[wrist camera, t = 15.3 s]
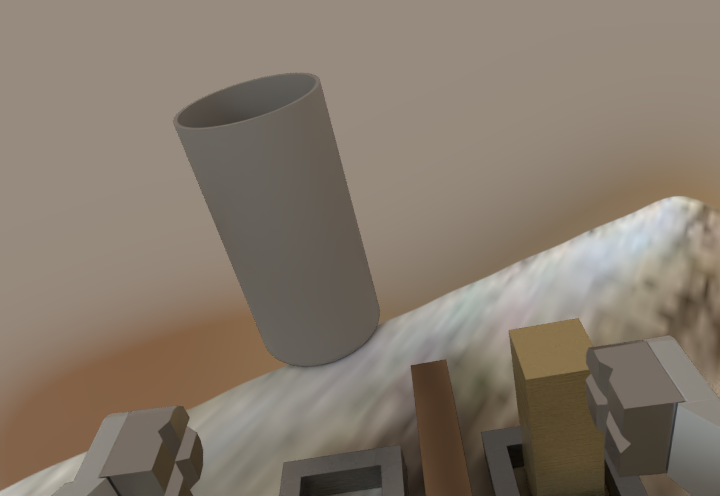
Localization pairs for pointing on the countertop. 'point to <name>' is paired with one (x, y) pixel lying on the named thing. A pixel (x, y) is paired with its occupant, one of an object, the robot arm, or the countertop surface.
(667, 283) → the countertop surface
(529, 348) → the lock bar
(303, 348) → the tall grey cup
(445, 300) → the countertop surface
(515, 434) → the frame
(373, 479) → the grey square frame
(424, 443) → the rail
